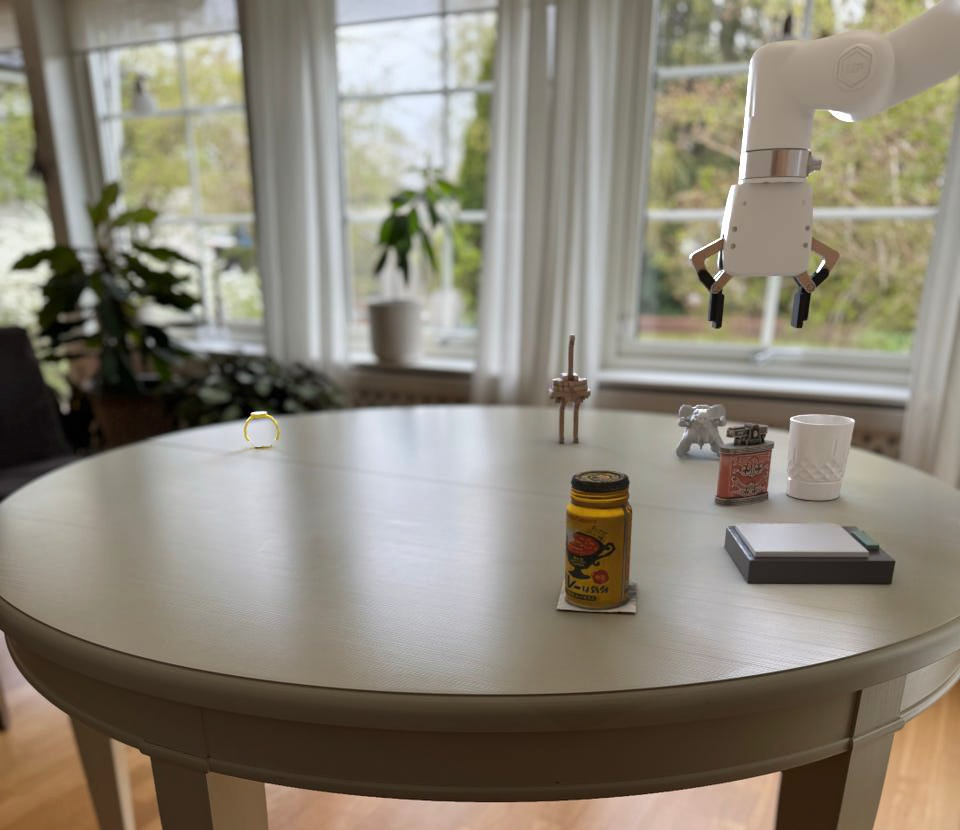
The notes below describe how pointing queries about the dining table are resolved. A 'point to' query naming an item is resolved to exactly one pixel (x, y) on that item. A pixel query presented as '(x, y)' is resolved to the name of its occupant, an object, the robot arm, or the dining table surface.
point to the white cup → (817, 455)
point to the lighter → (744, 466)
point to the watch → (260, 415)
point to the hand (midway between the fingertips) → (756, 327)
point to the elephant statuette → (701, 427)
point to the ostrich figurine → (569, 392)
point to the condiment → (598, 545)
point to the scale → (807, 554)
